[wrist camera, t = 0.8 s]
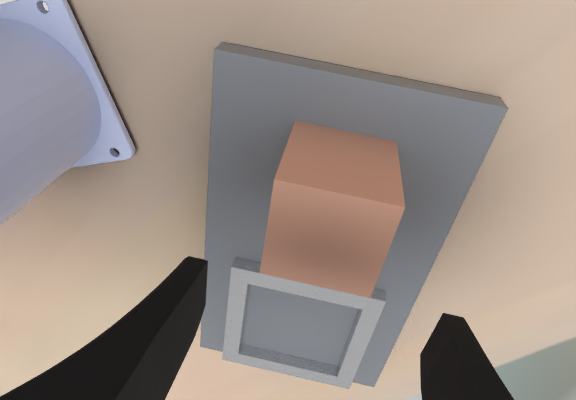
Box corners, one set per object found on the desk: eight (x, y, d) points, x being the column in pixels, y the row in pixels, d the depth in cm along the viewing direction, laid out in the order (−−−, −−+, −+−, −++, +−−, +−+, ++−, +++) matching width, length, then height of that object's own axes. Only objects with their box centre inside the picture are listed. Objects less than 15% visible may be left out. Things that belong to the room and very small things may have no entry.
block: (369, 222, 21) (370, 298, 17) (280, 203, 21) (259, 273, 17) (396, 141, 18) (405, 207, 14) (295, 120, 18) (274, 179, 14)
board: (373, 371, 29) (374, 386, 28) (205, 332, 30) (200, 346, 29) (500, 97, 18) (508, 108, 17) (222, 41, 18) (214, 49, 17)
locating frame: (349, 377, 28) (349, 389, 27) (225, 349, 28) (222, 359, 28) (385, 290, 23) (386, 301, 22) (235, 257, 23) (231, 266, 23)
